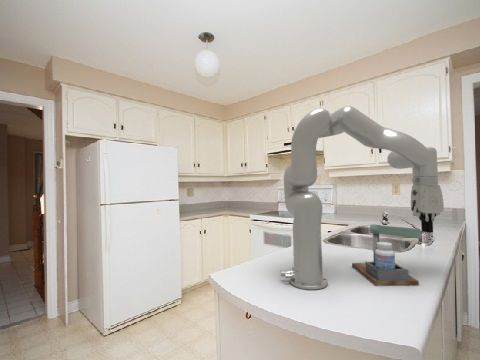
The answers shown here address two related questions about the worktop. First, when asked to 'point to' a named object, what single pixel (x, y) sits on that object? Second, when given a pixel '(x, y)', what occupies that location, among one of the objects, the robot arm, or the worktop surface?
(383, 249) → the pill bottle
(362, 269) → the walnut board
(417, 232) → the bar
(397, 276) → the socket
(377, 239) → the post
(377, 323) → the worktop surface
